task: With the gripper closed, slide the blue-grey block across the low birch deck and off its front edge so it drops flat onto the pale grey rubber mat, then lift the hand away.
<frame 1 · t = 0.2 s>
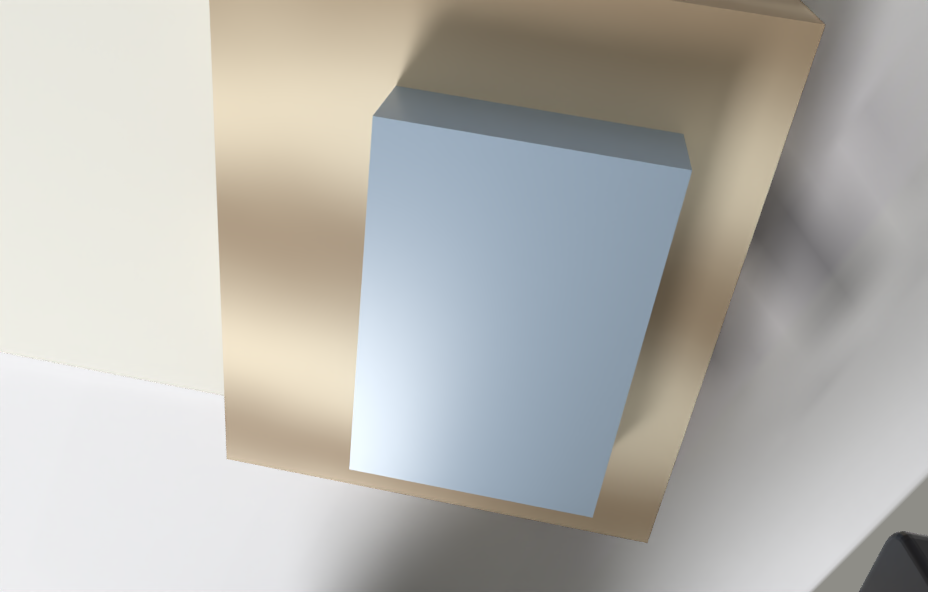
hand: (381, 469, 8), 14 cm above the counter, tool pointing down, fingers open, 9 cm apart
blue-grey block: (505, 294, 19), point 3 cm above the counter, touching deck
mat: (1, 146, 23), on the counter
deck: (480, 231, 22), on the counter
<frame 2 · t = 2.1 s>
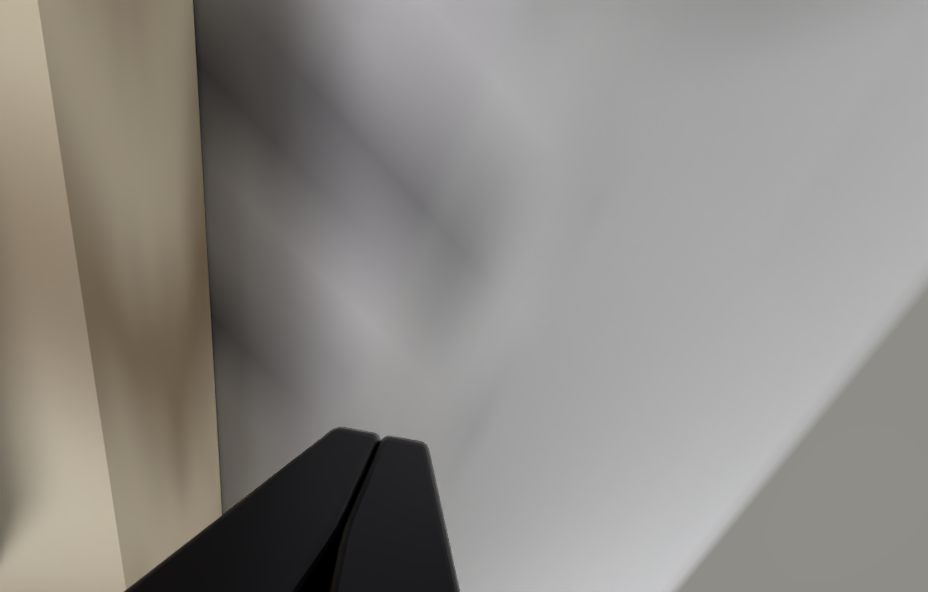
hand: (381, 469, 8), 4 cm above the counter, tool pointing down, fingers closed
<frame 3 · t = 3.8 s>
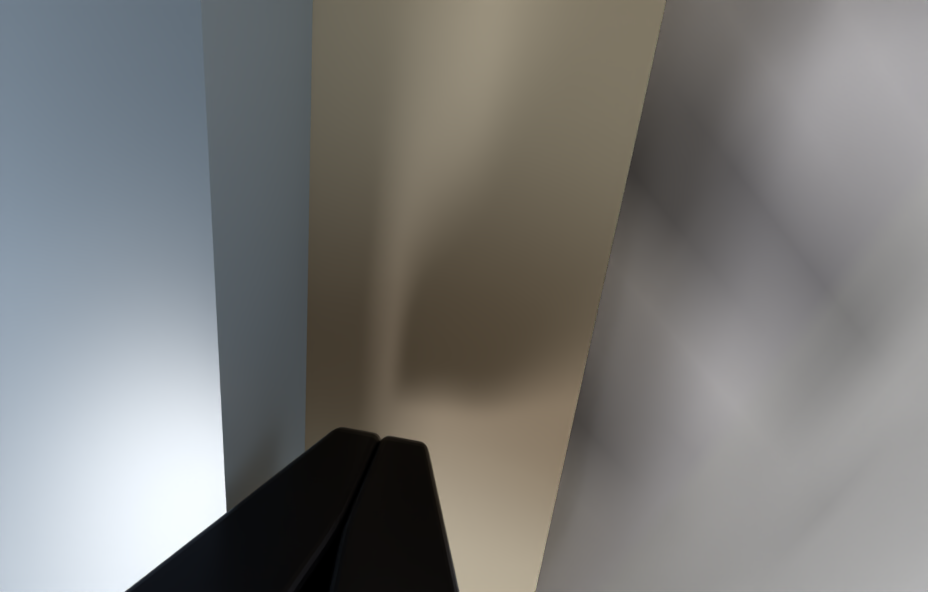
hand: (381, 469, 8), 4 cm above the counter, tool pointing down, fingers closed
blue-grey block: (21, 342, 8), point 3 cm above the counter, touching deck, gripper
deck: (133, 221, 11), on the counter
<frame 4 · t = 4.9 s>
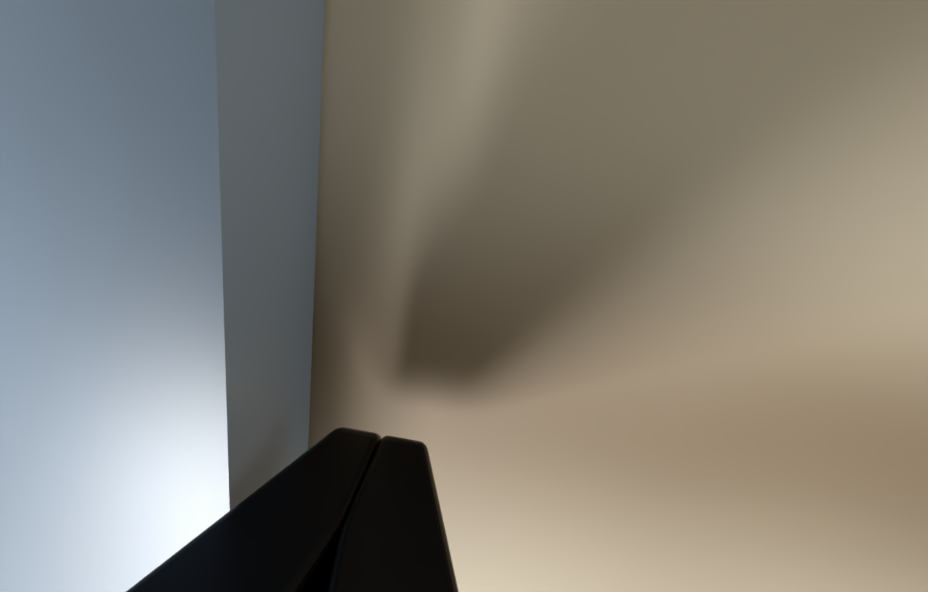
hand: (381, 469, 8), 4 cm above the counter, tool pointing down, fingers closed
blue-grey block: (23, 320, 8), point 3 cm above the counter, touching gripper
deck: (609, 299, 11), on the counter
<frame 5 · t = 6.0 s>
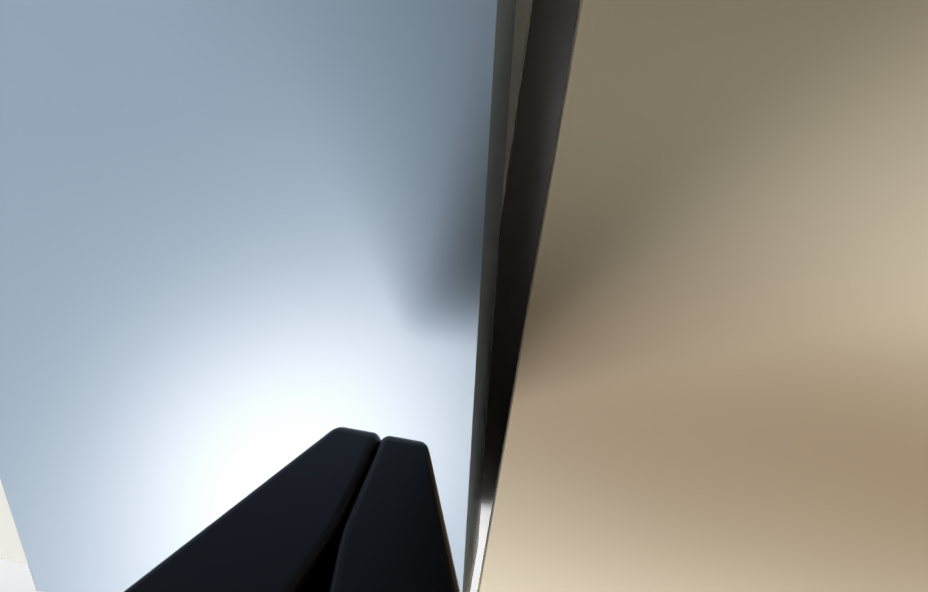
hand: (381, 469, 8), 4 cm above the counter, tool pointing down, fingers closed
blue-grey block: (266, 265, 11), resting on mat
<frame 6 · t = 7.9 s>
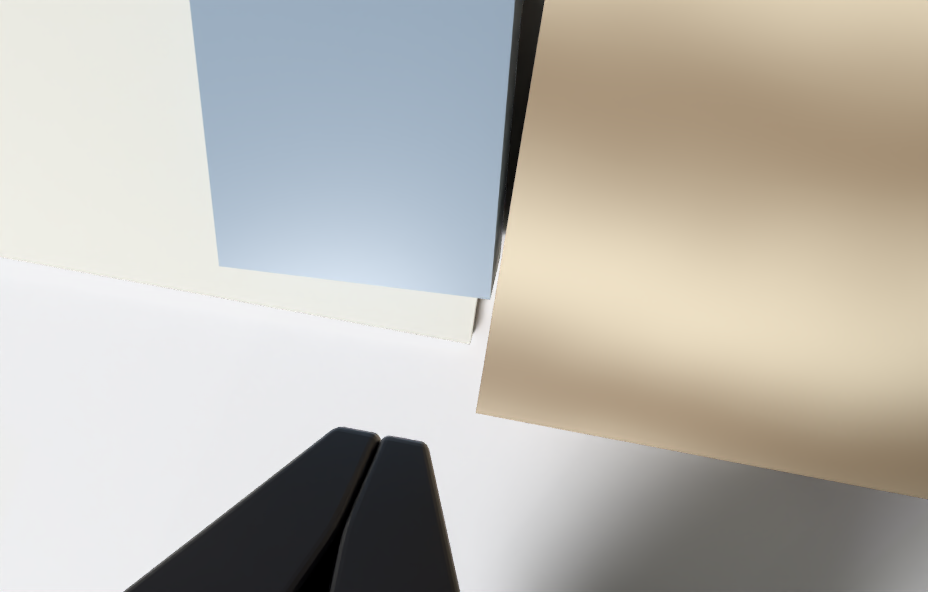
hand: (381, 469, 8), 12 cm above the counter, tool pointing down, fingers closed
blue-grey block: (374, 49, 17), resting on mat
mat: (193, 9, 18), on the counter
deck: (826, 112, 17), on the counter
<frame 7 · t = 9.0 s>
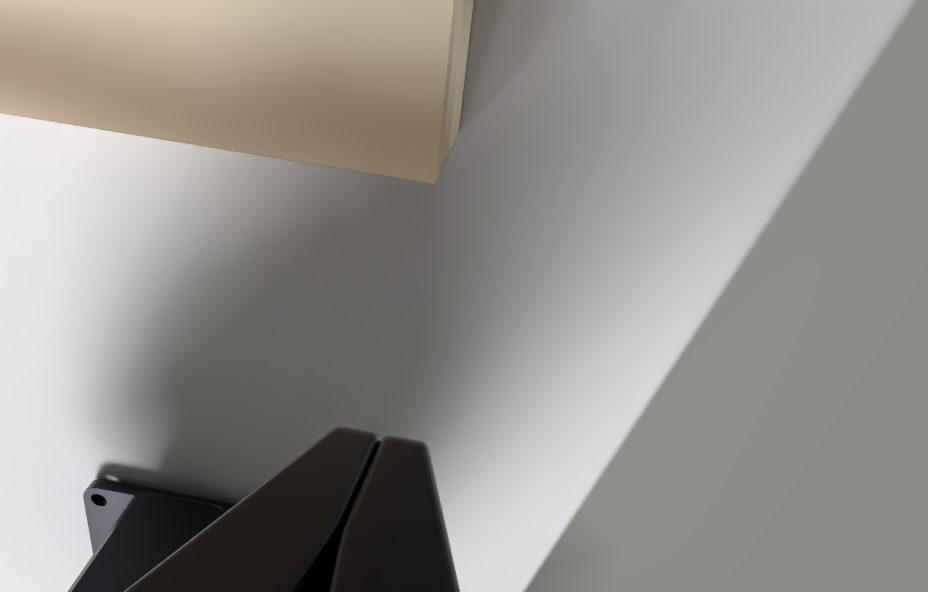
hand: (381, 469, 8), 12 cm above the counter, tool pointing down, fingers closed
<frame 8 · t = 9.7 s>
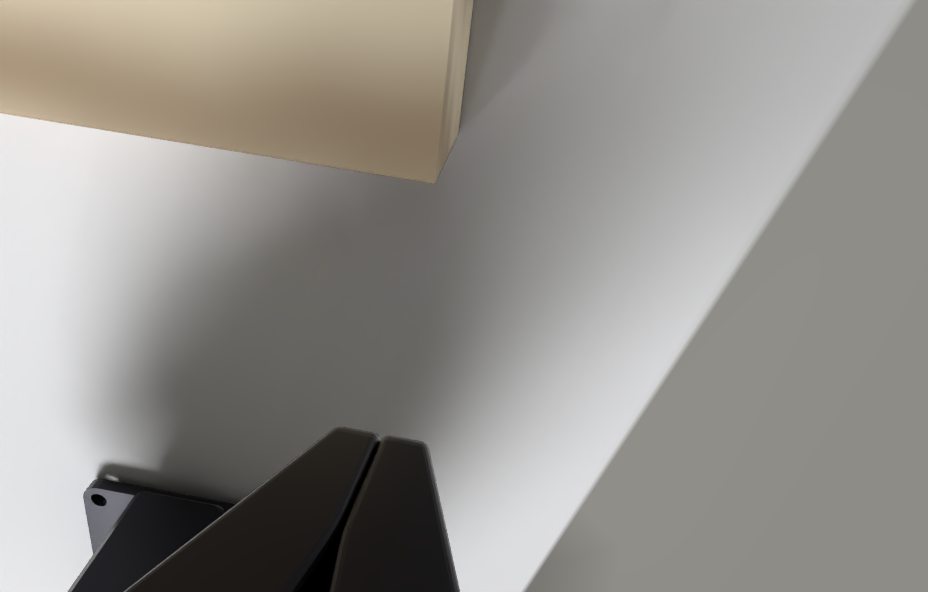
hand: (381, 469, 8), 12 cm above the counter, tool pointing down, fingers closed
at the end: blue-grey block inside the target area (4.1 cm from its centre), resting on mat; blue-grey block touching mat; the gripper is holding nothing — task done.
